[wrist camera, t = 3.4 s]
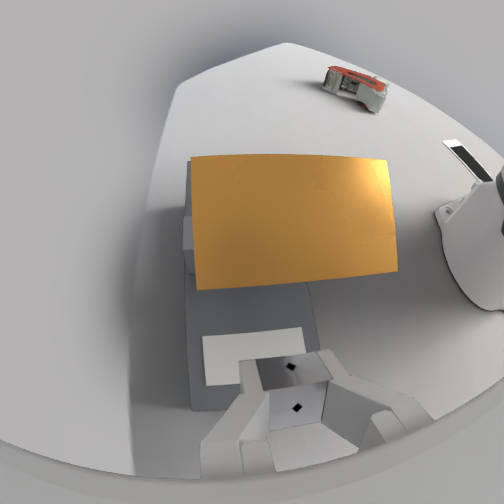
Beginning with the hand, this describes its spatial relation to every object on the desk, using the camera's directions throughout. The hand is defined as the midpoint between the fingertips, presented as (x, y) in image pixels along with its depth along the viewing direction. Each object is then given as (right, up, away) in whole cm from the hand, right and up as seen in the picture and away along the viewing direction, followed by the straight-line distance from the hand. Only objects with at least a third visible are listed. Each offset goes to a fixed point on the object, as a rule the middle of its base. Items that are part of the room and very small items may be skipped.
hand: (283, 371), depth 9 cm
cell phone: (+44, +21, +33) cm, 59 cm away
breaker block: (-2, +1, +16) cm, 16 cm away
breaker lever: (-2, +4, +10) cm, 11 cm away
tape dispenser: (+23, +36, +40) cm, 59 cm away
